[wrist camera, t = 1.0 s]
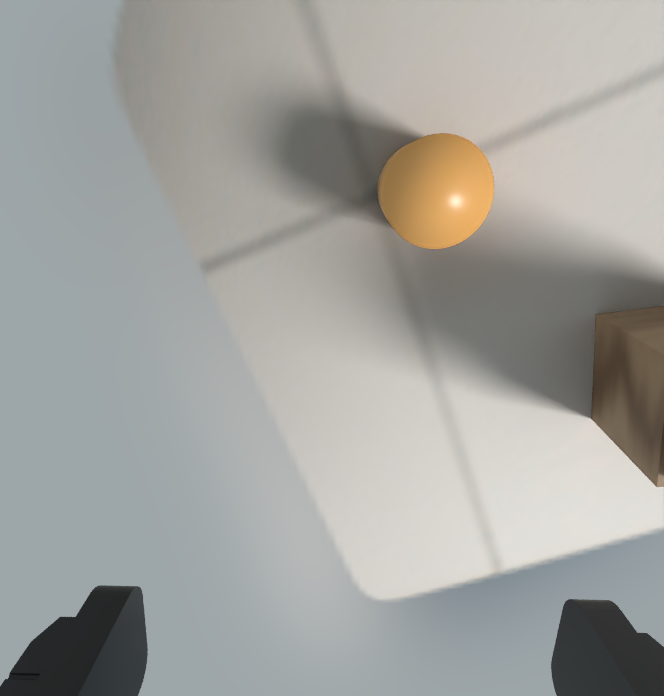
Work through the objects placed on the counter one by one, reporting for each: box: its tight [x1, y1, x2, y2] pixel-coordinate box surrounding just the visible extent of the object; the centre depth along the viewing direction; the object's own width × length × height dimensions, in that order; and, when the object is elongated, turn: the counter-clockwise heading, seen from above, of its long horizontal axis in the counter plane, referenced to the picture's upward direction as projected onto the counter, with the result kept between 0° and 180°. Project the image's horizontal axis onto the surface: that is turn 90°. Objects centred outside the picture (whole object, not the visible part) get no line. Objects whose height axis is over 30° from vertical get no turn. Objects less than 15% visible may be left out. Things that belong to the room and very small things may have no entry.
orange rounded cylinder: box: [377, 133, 494, 249], centre depth 23 cm, size 5×5×6 cm
